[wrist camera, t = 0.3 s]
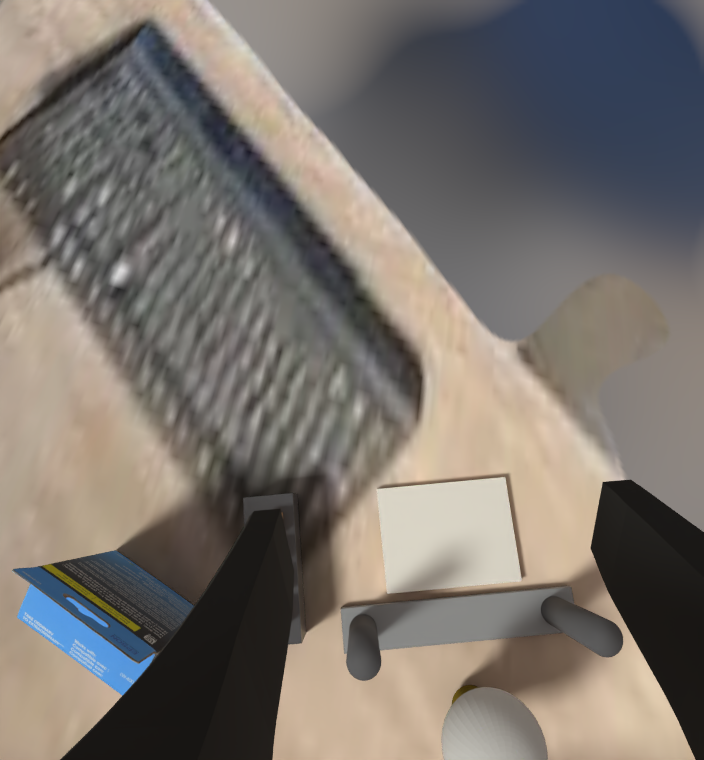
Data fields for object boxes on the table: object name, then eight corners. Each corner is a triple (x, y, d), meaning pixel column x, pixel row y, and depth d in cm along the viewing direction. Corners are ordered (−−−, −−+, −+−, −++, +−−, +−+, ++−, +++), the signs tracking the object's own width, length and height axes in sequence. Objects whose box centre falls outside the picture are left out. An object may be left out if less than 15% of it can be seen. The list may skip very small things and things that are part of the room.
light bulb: (478, 639, 37) (520, 686, 28) (526, 717, 36) (587, 795, 26) (410, 685, 37) (429, 750, 27) (457, 766, 35) (493, 865, 26)
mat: (519, 580, 38) (521, 581, 38) (386, 592, 38) (387, 593, 38) (503, 477, 40) (505, 477, 40) (376, 489, 40) (376, 489, 39)
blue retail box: (84, 594, 39) (-41, 633, 27) (116, 547, 39) (9, 566, 27) (179, 662, 37) (93, 736, 25) (210, 613, 38) (140, 663, 26)
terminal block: (306, 632, 38) (300, 647, 34) (257, 637, 38) (245, 652, 34) (297, 493, 40) (290, 492, 36) (251, 498, 40) (239, 497, 36)
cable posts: (576, 629, 37) (637, 664, 29) (344, 651, 37) (340, 692, 29) (568, 585, 38) (625, 607, 30) (341, 607, 38) (335, 635, 30)
